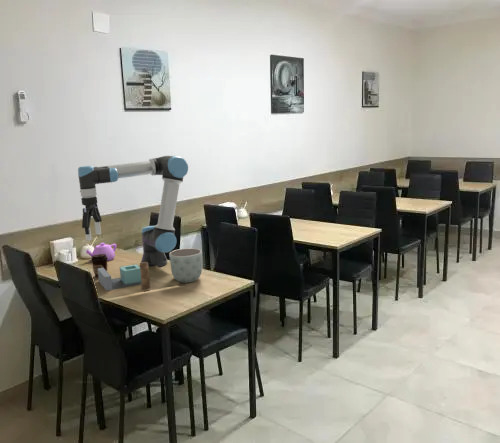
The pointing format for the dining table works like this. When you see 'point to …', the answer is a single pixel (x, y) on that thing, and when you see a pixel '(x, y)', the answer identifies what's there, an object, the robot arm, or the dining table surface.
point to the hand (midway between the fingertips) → (93, 237)
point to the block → (130, 274)
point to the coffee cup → (99, 263)
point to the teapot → (103, 250)
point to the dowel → (145, 275)
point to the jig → (106, 280)
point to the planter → (186, 264)
